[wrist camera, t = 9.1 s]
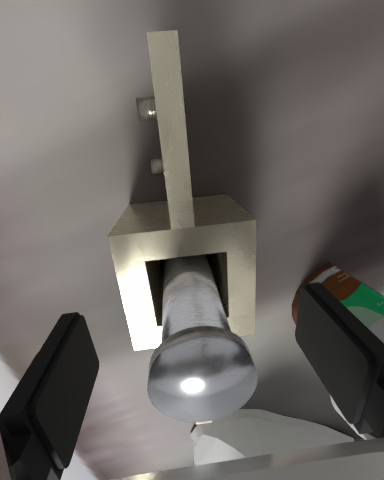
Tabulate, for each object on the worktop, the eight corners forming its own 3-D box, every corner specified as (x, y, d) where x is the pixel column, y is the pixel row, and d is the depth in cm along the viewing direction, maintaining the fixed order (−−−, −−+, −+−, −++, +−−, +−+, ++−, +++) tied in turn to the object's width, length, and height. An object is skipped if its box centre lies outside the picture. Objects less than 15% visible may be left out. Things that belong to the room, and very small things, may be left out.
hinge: (106, 82, 15) (60, 38, 9) (222, 73, 16) (259, 24, 9) (157, 354, 24) (153, 431, 18) (231, 344, 25) (253, 415, 18)
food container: (262, 278, 22) (330, 374, 13) (326, 249, 22) (444, 328, 12) (298, 363, 27) (367, 479, 17) (351, 341, 26) (451, 449, 17)
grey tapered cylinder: (157, 224, 19) (138, 352, 7) (204, 219, 19) (258, 336, 8) (163, 266, 21) (156, 429, 9) (207, 261, 21) (256, 414, 9)
